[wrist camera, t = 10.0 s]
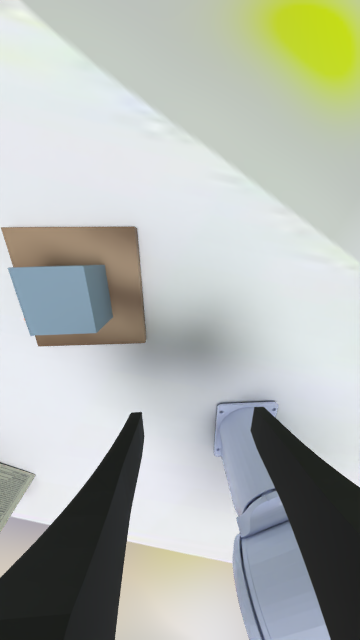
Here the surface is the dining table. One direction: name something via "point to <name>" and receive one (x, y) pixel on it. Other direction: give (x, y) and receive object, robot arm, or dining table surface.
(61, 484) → the dining table surface
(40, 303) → the slate blue cube
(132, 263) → the board
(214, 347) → the dining table surface
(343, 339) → the dining table surface
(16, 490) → the skincare box
